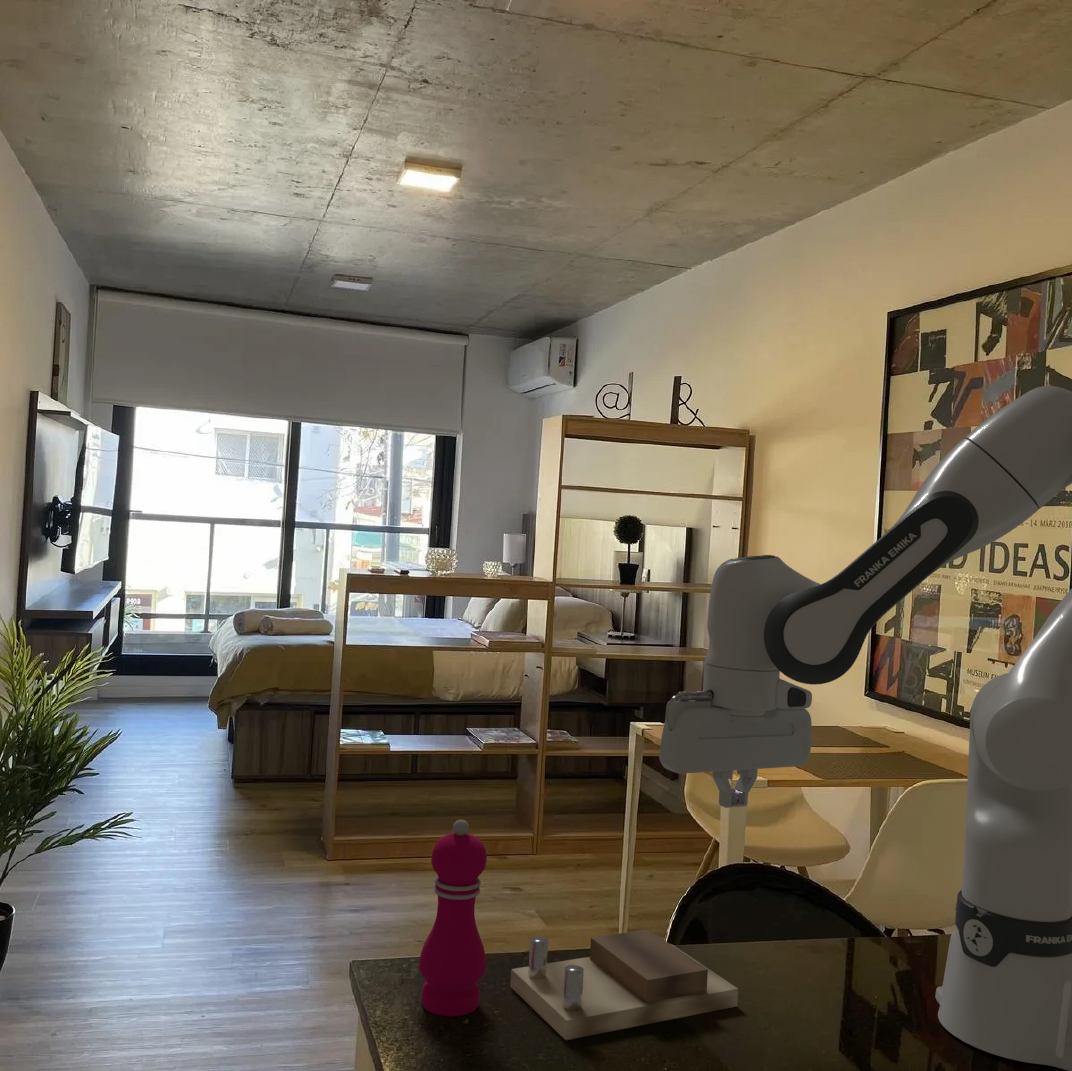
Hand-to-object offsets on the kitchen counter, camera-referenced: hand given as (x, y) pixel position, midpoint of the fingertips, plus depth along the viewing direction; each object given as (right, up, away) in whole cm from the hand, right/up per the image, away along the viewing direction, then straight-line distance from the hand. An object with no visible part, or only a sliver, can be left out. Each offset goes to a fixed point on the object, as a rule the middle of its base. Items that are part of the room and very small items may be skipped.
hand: (732, 806), depth 122 cm
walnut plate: (-11, -18, -5) cm, 22 cm away
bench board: (-14, -20, -6) cm, 25 cm away
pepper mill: (-33, -19, -11) cm, 39 cm away
